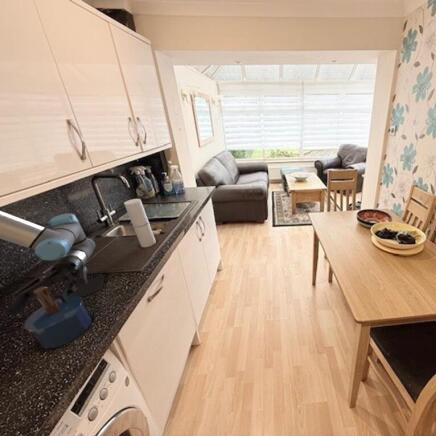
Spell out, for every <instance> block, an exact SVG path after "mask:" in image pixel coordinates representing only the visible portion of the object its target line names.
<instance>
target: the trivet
mask: <svg viewBox="0 0 436 436" xmlns="http://www.w3.org/2000/svg"><path fill="white" fill-rule="evenodd" d="M105 277H106V274H105V273H104V274H101V275H97V276H94V277H91V278H87V284H85V285H83V284H82V285H80V286H79V287H78V288H77V289H76V291H75V292H74V293H72V294H71V296H78V297H80V298H82V297H83V296H84V297H85V296H86V295H90V294H93V293H95V292H98V291H102V290H103V287H104V281H105Z"/></svg>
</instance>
